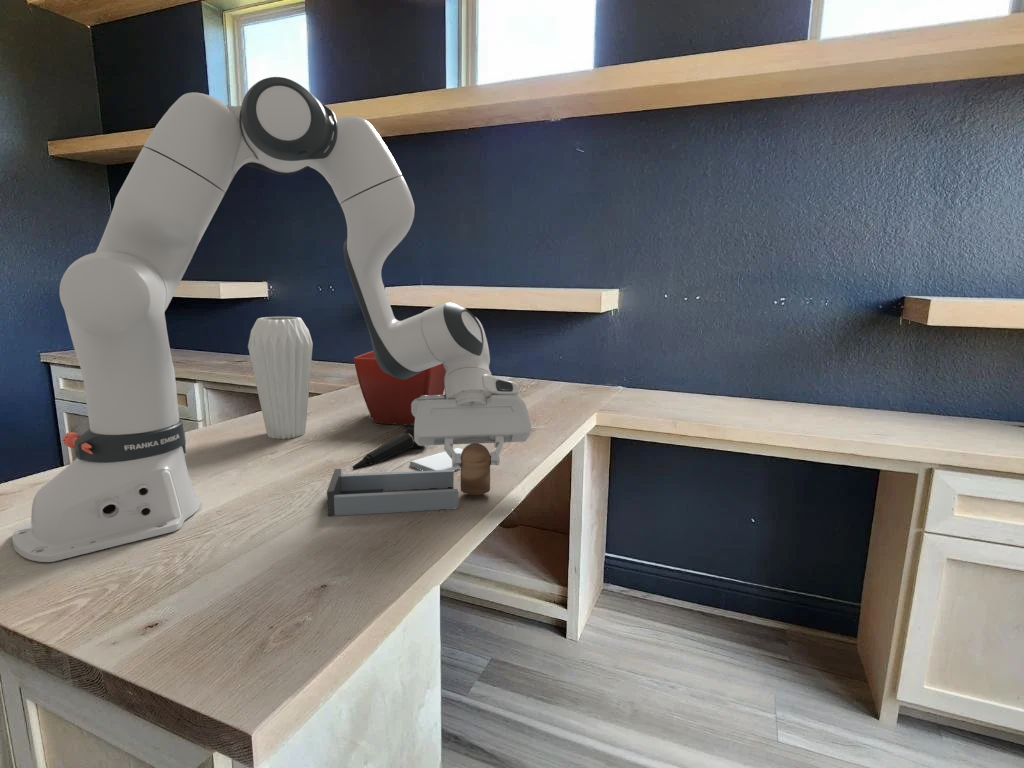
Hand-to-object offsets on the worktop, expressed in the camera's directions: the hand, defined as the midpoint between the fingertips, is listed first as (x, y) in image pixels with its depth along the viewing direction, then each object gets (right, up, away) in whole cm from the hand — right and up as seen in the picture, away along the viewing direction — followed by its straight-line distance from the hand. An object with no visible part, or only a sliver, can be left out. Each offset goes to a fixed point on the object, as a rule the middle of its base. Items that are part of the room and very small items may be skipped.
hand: (475, 464), depth 94 cm
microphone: (-19, -2, +22) cm, 29 cm away
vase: (-45, +2, +34) cm, 57 cm away
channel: (-13, -6, -1) cm, 15 cm away
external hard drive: (-7, -3, +17) cm, 19 cm away
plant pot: (-21, +4, +50) cm, 54 cm away
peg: (0, -4, +2) cm, 5 cm away
